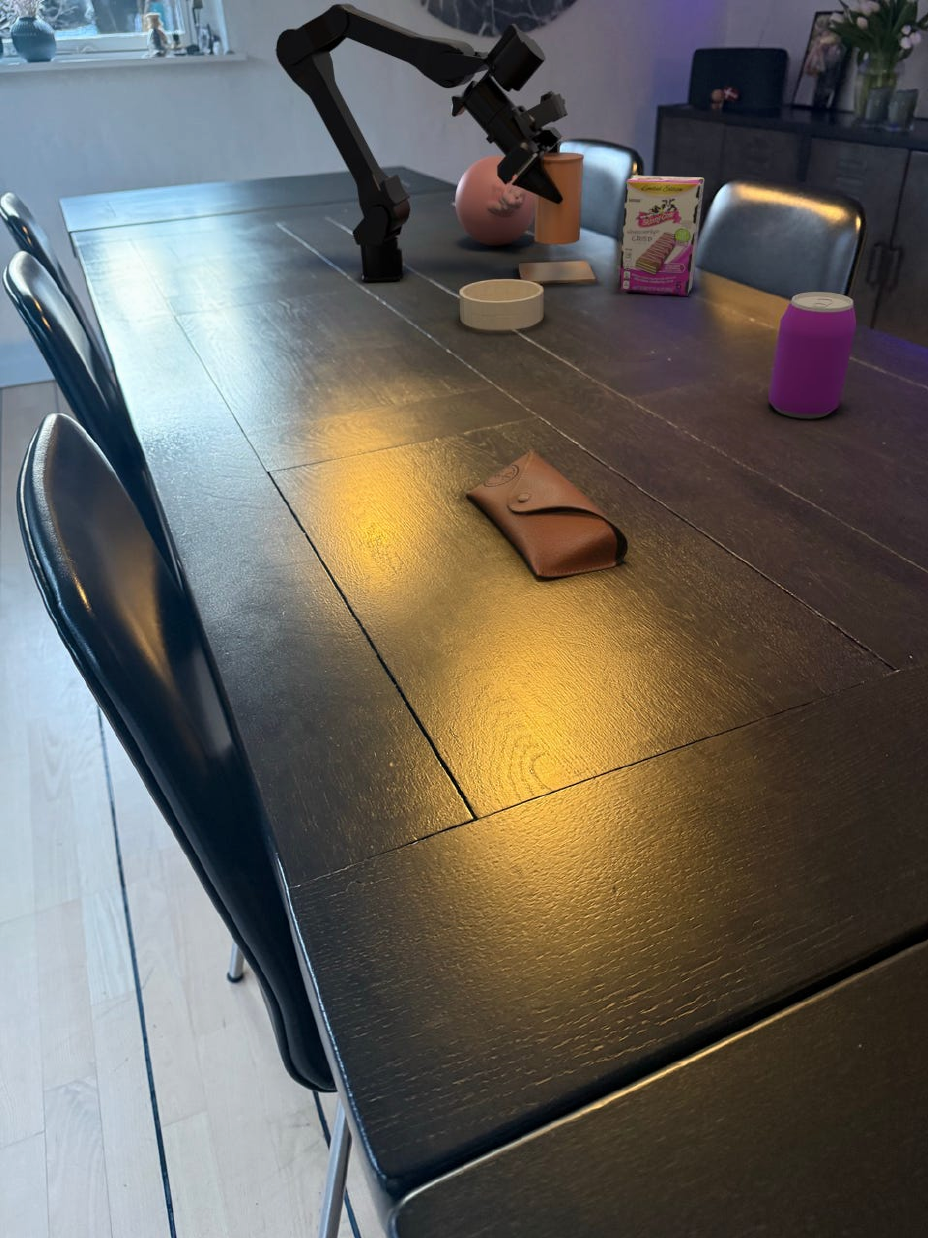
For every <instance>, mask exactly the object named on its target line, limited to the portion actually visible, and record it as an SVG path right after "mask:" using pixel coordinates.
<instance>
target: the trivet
mask: <svg viewBox="0 0 928 1238" xmlns="http://www.w3.org/2000/svg"><path fill="white" fill-rule="evenodd" d="M518 272H519V276H520V280H524V281H530V282H533V283H537V284H539V285H540V284H543V285H545V284H566V283H592V282H596V276H595V275H594V272H593V270H592V268H591V265H590V263H589V261H588V260H578V261H577V260H576V261H552V262H550V261H549V262H526V263H525V262H522V263H518Z"/></svg>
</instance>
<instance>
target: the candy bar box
mask: <svg viewBox="0 0 928 1238" xmlns="http://www.w3.org/2000/svg"><path fill="white" fill-rule="evenodd" d="M704 185H705V178H704V177H697V176H696V177H693V176H663V175H662V176H661V175H631V176H630V177H629V178H628V179H627V180H626V182H625V193H624V196H625V197H624V210H623V222H622V223H623V224H622V236H621V237H622V238H621V254H620V265H619V267H620V268H619V277H618V279H619V280H618V290H620V291H624V292H625V293H632V294H647V295H650V294H651V295H664V296H682V297H683V296H684V297H688V295H689V293H690V292H691V290H692V288H693V285H694V284H693V283H694V272H695V264H696V256H697V255H696V254H697V246H698V238H699V228H700V222H701V221H700V220H701V212H702V211H701V210H702V203H703V197H704V196H703V194H704V187H705V186H704Z"/></svg>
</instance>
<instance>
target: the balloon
mask: <svg viewBox="0 0 928 1238" xmlns="http://www.w3.org/2000/svg"><path fill="white" fill-rule="evenodd" d="M504 157H505V156H500V155H493V156H487V157H484V158H481V159H478V160H477V161H476V162H474V163H473V164H472V165H471V166H469V167H468V168H467V169H466V171H464V173H463V174H462V176H461V178H460V180H459V182H458V184H457V187H456V191H455V192H456V193H455V201H454V202H455V211H456V216H457V218H458V221H459V224H460V226H461V227H462V228H463V230H464V231H465V233H467V235H468V236H469V237H470V238H471V239H473V240H474V241H476V242H477V243H480V244H482V245H485V246H490V247H500V246H501V247H502V246H505V245H509V244H511V243H514V242H515V241H517V240H519V238H521V237H522V236H523V235H524V234H525V233H526V232H527V230H528V229H529V228H530V226H531V224H532V223H533V221H534V219H535V194H534V193H532V192H530V191H527V190H525V189H522V188H520V187H517V186H513V185H512V183H513V182H514V181H515V180H516V178H517V177H518V176H517V175H516V174H515V175H514V176H513V177H512V178H513V180H512V181H511V182H510V183H508V184H506V185H505V184H504V183H503V182H502V180H501V179H500V178H499V177H498V176H497V165H498V164H499V163H500V162H501V161H502V160H503V158H504Z"/></svg>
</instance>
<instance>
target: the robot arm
mask: <svg viewBox="0 0 928 1238" xmlns="http://www.w3.org/2000/svg"><path fill="white" fill-rule="evenodd" d="M346 39H349V40H351V41H354V42H356V43H359V44H361V45H363V46H365V47H369V48H371V49H374V50H376V51H379V52H381V53H383V54H385V55H388V56H391V57H393V58H396V59H398V60H401V61H404V62H406V63H408V64H409V65H411V66H412V67H414V68H415V69H416V70H418V72H420V74H421V75H423V76H424V77H426V78H427V79H428V80H430V81H432V82H433V83H435V84H436V85H438V86H439V87H441V88H444V89H454V88H457V87H461V86H463V85H466V84H468V85H467V86H466V87H465V89H464V90H463V91H462V93H461V94H456V95H452V96H451V97H450V99H451V104H452V106H451V116H452V117H453V118H456V117H459V116H461V115H463V114H464V113H465V112H466V111H467V113H468V114H469V115H470V116H471V117H472V118H473V120H474V121H475V123H477V124H478V125H479V126H480V128H481V129H482V131H484V132H485V134H486V135H487V136H486V138H485V140H486V141H487V142H488V143H489V144H490V145H492V144H495V146H496V147H497V148H498V149H499V150H500V151H501V152H502V153H503V155H504V156H503V157H504V158H503V160H502V161H501V162H500V163H499V164H498V165H497V176H498V177H499V178H500V179H501V180H502V182H503V183H504V184H505V185H506V184H508V183H510V182H511V181H512V180H513V178H512V177H513V176H514V175H515V174H516V175H517V176H518V177H517V178H516V180H515V181H514V182H513V183H512V185H513V186H517V187H520V188H522V189H525V190H527V191H530V192H532V193H534V194H536V195H539V196H541V197H543V198H545V199H547V200H550V201H552V202H554V203H556V204H560V203H561V202H562V201H563V197H562V195H561V193H560V192H559V190H558V188H557V187H556V185H555V184H554V182H553V180H552V179H551V177H550V176H549V174H548V172H547V171H546V169H545V167H544V154H545V153H557V152H561V145H562V141H561V139H562V137H563V136H562V134H561V133H560V132H559V130H558V129H557V128H556V127H555V126H547V125H548V124H551V123H555V122H556V121H559V120H561V119H563V118H564V117H567V116H568V111H567V109H566V105H565V104H566V100H565V98H562V95H561V93H560V92H559V93H557V94H556V93H555V92H554V91H552V90H549V91H547V92H546V93H544V94H541V95H540V98H539V99H540V100H539V102H540V103H538V104H536V105H535V106H532V107H530V108H529V109H526V108H525V106H524V105H522V104H521V105H520V104H518V105H516V104H515V103H514V102H513V101H512V99H510V97H509V96H508V95H507V93H505V92H508V93H510V92H511V91H512V90H514V91H515V92H520V91H521V90H522V89H523V88H524V86H525V85H526V84H527V83H528V81H529V80H530V79H531V78H533V75H535V73H536V72H537V71H538V70H539V68H540V67H541V66H542V65H543V63H544V62H545V61H546V59H547V58H546V55H545V53H544V51H543V50H542V48H541V47H540V45H539V44H538V43H537V42H536V40H535V39H533V38H531V37H530V36H529V35H528V34H527V33H525V32H524V31H522V29H520V28H519V27H518V26H517V24H516V23H511V24H509V25H508V26H507V27H506V29H505V30H504V31H503V33H502V36H501V37H500V38H499V39H498V41H497V42H496V43H495V45H494V46H493V47H492V48H491V50H490V51H484V52H483V51H476V50H474V47H473V46H472V45H471V44H470V43H468V42H466V41H463V40H457V39H452V38H447V37H440V36H439V37H438V36H430V35H424V34H421V33H418V32H415V31H413V30H410V29H408V28H405V27H403V26H400V25H398V24H396V23H393V22H391V21H388V20H386V19H384V18H382V17H378V16H377V15H374V14H371V13H368V12H367V11H364V10H361V9H358V8H357V7H355V6H354V5H353V4H352V3H336V4H332V5H331V6H330V7H329V8H328V9H327V10H325V11H324V12H323V13H321V14H320V15H318V16H316V17H314V18H313V19H311V20H309V21H307V22H306V23H304V24H302V25H301V26H299V27H297V28H287V29H285V30H283V31H282V32H280V34H279V35H278V37H277V40H276V45H275V51H274V52H275V56H276V58H277V61H278V63H279V64H280V66H281V67H282V69H283V70H284V72H285V73H286V74H287V75H288V77H289V79H290V80H291V81H292V82H293V83H294V84H295V85H296V86H297V87H298V88H299V89H301V90H302V92H303V93H305V94H306V95H307V96H308V98H310V100H311V102H312V104H313V106H314V108H315V109H316V111H317V114H318V115H319V117H320V119H321V121H322V123H323V125H324V126H325V129H326V130H327V132H328V134H329V136H330V137H331V140H332V141H333V143H334V145H335V147H336V149H337V150H338V153H339V155H340V156H341V158H342V160H343V162H344V164H345V165H346V168H347V169H348V171H349V173H350V175H351V177H352V179H353V180H354V183H355V185H356V191H357V192H356V193H357V199H358V200H357V201H358V205H359V208H360V210H361V214H362V219H361V221H360V222H359V223H358V224H357V225H356V227H355V228H354V229H353V231H352V236H353V239H354V240H355V244H356V245H357V246H359V247H360V248H359V249H360V257H361V266H362V267H361V268H362V277H361V282H362V283H368V282H369V283H373V282H375V283H376V282H396V281H400V280H401V276H402V275H403V274H404V261H403V260H404V259H403V247H402V246H401V245H399V237H398V236H400V235H401V234H402V233H401V232H402V229H403V227H404V225H405V224H406V223H407V221H408V220H409V217H410V213H411V205H410V201H409V199H410V198H411V196H410V194H408V193H407V191H406V190H405V189H404V186H403V183H402V181H401V178H400V176H399V175H398V174H394V175H391V176H389V175H388V174H386V173H385V172H384V171H383V169H381V167H380V165H379V163H378V161H377V159H376V157H375V155H374V154H373V152H372V150H371V148H370V146H369V144H368V142H367V140H366V138H365V136H364V135H363V133H362V131H361V129H360V126H359V125H358V123H357V121H356V119H355V117H354V115H353V113H352V111H351V110H350V107H349V106H348V103H347V102H346V100H345V98H344V96H343V94H342V92H341V91H340V89H339V86H338V84H337V81H336V76H335V69H334V61H333V58H332V56H331V52H332V51H333V50H335V49H336V48H338V47H339V46H340V45H341V44H342V43H343V42H344V41H345V40H346ZM481 72H485V73H484V74H483V76H482V77H481V78H480V80H479V81H476V80H473V79H474V77H475V75H476V74H477V73H481ZM544 126H545V127H544Z"/></svg>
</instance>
